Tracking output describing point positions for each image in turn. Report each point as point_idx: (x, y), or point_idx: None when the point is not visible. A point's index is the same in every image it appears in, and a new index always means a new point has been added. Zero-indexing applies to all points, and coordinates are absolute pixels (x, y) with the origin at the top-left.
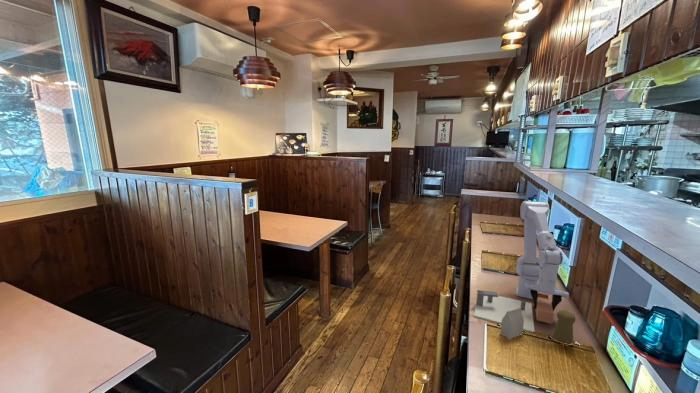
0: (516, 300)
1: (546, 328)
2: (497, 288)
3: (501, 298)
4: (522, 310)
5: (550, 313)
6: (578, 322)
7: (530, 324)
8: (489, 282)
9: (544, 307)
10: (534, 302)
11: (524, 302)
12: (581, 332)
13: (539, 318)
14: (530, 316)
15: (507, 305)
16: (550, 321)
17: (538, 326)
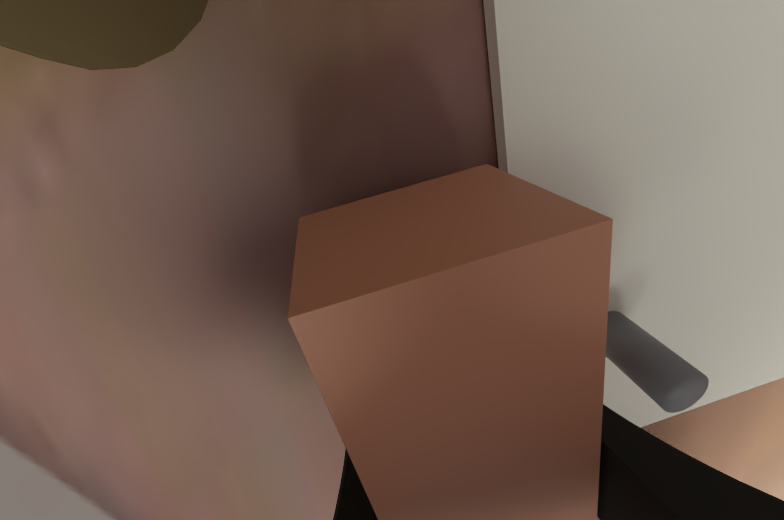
0: (642, 420)
1: (346, 128)
2: (735, 470)
3: (758, 361)
4: (609, 301)
5: (353, 283)
6: (139, 491)
7: (539, 22)
8: (770, 494)
9: (490, 404)
10: (636, 431)
11: (675, 385)
12: (16, 352)
13: (472, 181)
14: None
15: (735, 284)
16: (325, 222)
17: (435, 101)
